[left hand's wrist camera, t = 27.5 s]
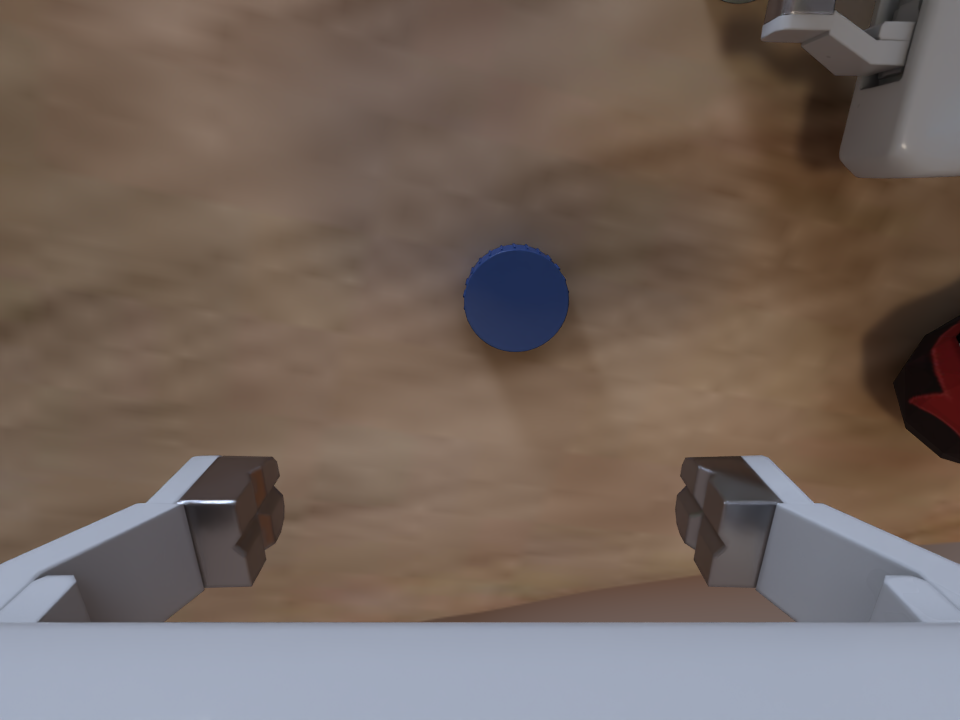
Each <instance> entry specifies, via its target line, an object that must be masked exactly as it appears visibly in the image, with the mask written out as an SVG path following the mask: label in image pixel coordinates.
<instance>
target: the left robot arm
mask: <svg viewBox="0 0 960 720" xmlns="http://www.w3.org/2000/svg"><path fill="white" fill-rule="evenodd" d="M279 477H280V474H279V469H278V464H277V461H276V460H275V459H274V458H273V457H260V456H220V455H215V456H195V457H192V458H191V459H190V460H189V461H188V462H187V463H186V464H185V465H184V466H183V467H182V468H181V469H180V470H179V471H178V472H177V473H176V474H175V475H174V476H173V477H172V478H171V479H170V480H169V481H168V482H167V483H166V484H165V485H164V486H163V487H162V488H161V489H160V490H159V491H158V492H157V493H156V494H155V495H154V496H153V497H152V498H151V499H149V500H148V501H147V502H146V503H137V504H135V505H132V506H130V507H128V508H126V509H123V510H121V511H119V512H117V513H114V514H112V515H110V516H108V517H105V518H103V519H101V520H99V521H96V522H94V523H92V524H90V525H87V526H85V527H83V528H81V529H78V530H76V531H74V532H72V533H69V534H67V535H65V536H63V537H60V538H58V539H56V540H54V541H51V542H49V543H47V544H45V545H42V546H40V547H38V548H36V549H33V550H31V551H29V552H27V553H24V554H22V555H20V556H18V557H15V558H13V559H11V560H9V561H6V562H4V563H2V564H0V720H960V564H958V563H955V562H953V561H951V560H949V559H946V558H944V557H942V556H940V555H938V554H935V553H933V552H931V551H929V550H926V549H924V548H922V547H920V546H917V545H915V544H913V543H911V542H908V541H906V540H904V539H902V538H899V537H897V536H895V535H893V534H890V533H888V532H886V531H884V530H881V529H879V528H877V527H875V526H872V525H870V524H868V523H866V522H863V521H861V520H859V519H857V518H854V517H852V516H850V515H848V514H845V513H843V512H841V511H839V510H837V509H834V508H832V507H830V506H828V505H825V504H823V503H814V502H813V501H812V500H811V499H810V498H809V497H808V496H807V495H806V494H805V493H804V492H803V491H801V490H800V489H799V488H798V487H797V486H796V485H795V484H794V483H793V482H792V481H791V480H790V479H789V478H788V477H787V476H786V475H785V474H784V473H783V472H782V471H781V470H780V469H779V468H778V467H777V466H776V465H775V464H774V463H773V462H772V461H771V460H770V459H769V458H768V457H765V456H763V455H755V456H725V457H689V458H685V460H684V462H683V464H682V468H681V474H680V477H681V478H682V480H683V481H684V483H685V484H686V486H685V487H684V488H683V489H682V491H681V492H680V493H679V494H678V495H677V499H676V507H675V512H676V523H677V527H678V530H679V533H680V535H681V537H682V539H683V541H684V543H685V544H687V545H688V546H690V547H691V548H693V549H694V550H695V555H694V561H695V563H696V565H697V567H698V569H699V570H700V572H701V574H702V576H703V578H704V579H705V581H706V583H707V585H708V586H710V587H746V588H756V591H758V592H759V593H760V594H761V595H763V596H764V597H765V598H767V599H768V600H769V601H770V602H772V603H773V604H774V605H775V606H777V607H778V608H779V609H780V610H782V611H783V612H784V613H786V614H787V615H788V616H789V617H791V618H792V619H793V620H794V621H796V622H164V621H166V620H167V619H168V618H170V617H171V616H172V615H173V614H175V613H176V612H177V611H178V610H180V609H181V608H182V607H184V606H185V605H186V604H187V603H189V602H190V601H191V600H192V599H194V598H195V597H196V596H198V595H199V594H200V593H201V592H203V591H204V588H214V587H249V586H252V585H253V583H254V581H255V579H256V578H257V576H258V574H259V572H260V570H261V569H262V567H263V565H264V563H265V561H266V555H265V550H266V549H267V548H269V547H270V546H272V545H273V544H275V543H276V541H277V539H278V537H279V535H280V533H281V530H282V526H283V521H284V508H285V506H284V499H283V495H282V494H281V493H280V492H279V491H278V489H277V488H276V487H275V486H274V484H275V483H276V481H277V480H278V478H279Z"/></svg>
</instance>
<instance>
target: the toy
mask: <svg viewBox="0 0 960 720" xmlns="http://www.w3.org/2000/svg"><path fill="white" fill-rule="evenodd" d="M893 384H894V387H895V391H896V395H897V398H898V402H899V406H900V409H901V413H902V417H903V420H904V424H905V428H906V429H907V430H908V431H910V432H911V433H912V434H913V435H914V436H916V437H917V438H918V439H919V440H920V441H922V442H923V443H924V444H925V445H926V446H927V447H929V448H930V449H931V450H932V451H933V452H935V453H936V454H937V455H938V456H939V457H940V458H943V459H947V460H950V461H953V462H956V463H960V316H958V317H956V318H955V319H953V320H951V321H950V322H948V323H946V324H944V325H943V326H941V327H939V328H938V329H936V330H934V331H932V332H931V333H929V334H927V335H926V336H925V337H924V338H923V340H922V341H921V342H920V344H919V345H918V347H917V348H916V350H915V351H914V353H913V354H912V356H911V357H910V359H909V360H908V362H907V363H906V364H905V366H904V367H903V369H902V370H901V372H900V373H899V375H898V376H897V378H896V379H895V381H894V382H893Z"/></svg>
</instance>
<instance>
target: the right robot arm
mask: <svg viewBox="0 0 960 720" xmlns="http://www.w3.org/2000/svg"><path fill="white" fill-rule="evenodd" d="M835 1H836V0H768V5H767V10H766V15H765V20H764V25H763V28H762V35H761V40H762V41H764V42H789V43H802V44H801V47H802V48H803V49H805V50H806V51H807V52H808V53H809V54H810V55H812V56H813V57H814V58H815V59H816V60H818V61H819V62H820V63H821V64H822V65H823V66H825V67H826V68H827V69H828V70H829V71H830V72H832V73H833V74H834V75H835V76H858V77H857V81H856V85H855V89H854V93H853V97H852V102H851V106H850V110H849V114H848V118H847V122H846V126H845V131H844V134H843V138H842V142H841V146H840V151H839V158H840V160H841V162H842V163H843V164H844V165H845V166H846V167H847V168H848V169H849V170H850V171H851V172H852V173H853V174H854V175H855V176H856V177H858V178H927V177H952V176H960V0H876V2H875V6H874V10H873V14H872V18H871V23H870V27H869V28H868V29H865V30H862V29H860V28H859V27H858V26H856V25H855V24H854V23H852V22H851V21H850V20H848V19H847V18H845V17H844V16H843V15H841V14H840V13H839V12H837V11H836V10H834V6H835Z"/></svg>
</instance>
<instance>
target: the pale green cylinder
mask: <svg viewBox="0 0 960 720" xmlns="http://www.w3.org/2000/svg"><path fill="white" fill-rule="evenodd" d="M723 1H726V2H730V3H747V2H751V1H755V0H723Z"/></svg>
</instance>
